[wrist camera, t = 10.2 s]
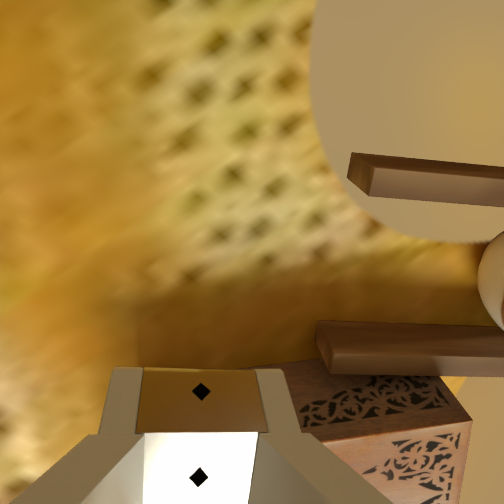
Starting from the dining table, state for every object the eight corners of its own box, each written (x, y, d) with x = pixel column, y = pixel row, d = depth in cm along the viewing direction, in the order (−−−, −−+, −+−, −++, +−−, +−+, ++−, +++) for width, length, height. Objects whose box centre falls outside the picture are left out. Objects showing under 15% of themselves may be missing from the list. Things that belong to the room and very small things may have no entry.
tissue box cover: (161, 492, 49) (156, 595, 40) (140, 378, 43) (129, 468, 34) (403, 457, 51) (450, 546, 42) (415, 345, 46) (473, 420, 37)
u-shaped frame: (351, 152, 37) (375, 167, 32) (620, 178, 41) (674, 195, 36) (314, 339, 43) (329, 374, 39) (549, 346, 47) (587, 378, 43)
